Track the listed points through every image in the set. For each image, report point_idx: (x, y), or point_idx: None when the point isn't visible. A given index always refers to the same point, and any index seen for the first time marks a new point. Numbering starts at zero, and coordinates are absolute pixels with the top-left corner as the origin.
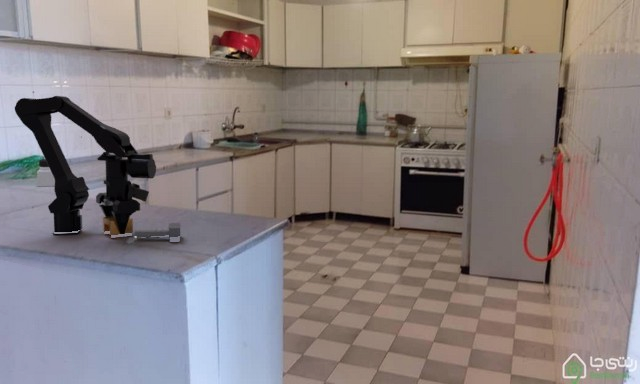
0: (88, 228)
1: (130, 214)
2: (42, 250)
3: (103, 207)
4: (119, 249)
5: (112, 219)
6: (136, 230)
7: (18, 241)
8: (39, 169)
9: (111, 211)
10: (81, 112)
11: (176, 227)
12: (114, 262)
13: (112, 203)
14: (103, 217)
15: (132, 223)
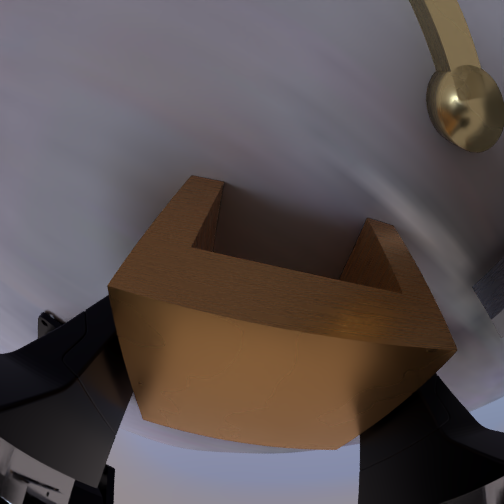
0: (22, 275)
1: (491, 438)
2: (283, 451)
3: (97, 477)
4: (472, 372)
5: (295, 438)
6: (499, 313)
7: (152, 434)
8: None
9: (96, 421)
10: None
11: None
12: (499, 398)
13: (50, 490)
14: (157, 422)
15: (436, 307)
